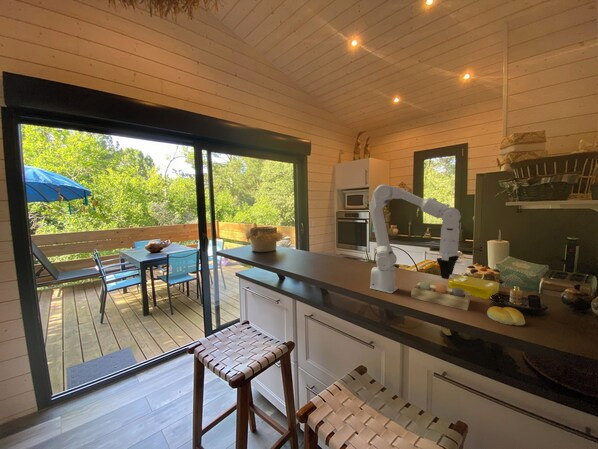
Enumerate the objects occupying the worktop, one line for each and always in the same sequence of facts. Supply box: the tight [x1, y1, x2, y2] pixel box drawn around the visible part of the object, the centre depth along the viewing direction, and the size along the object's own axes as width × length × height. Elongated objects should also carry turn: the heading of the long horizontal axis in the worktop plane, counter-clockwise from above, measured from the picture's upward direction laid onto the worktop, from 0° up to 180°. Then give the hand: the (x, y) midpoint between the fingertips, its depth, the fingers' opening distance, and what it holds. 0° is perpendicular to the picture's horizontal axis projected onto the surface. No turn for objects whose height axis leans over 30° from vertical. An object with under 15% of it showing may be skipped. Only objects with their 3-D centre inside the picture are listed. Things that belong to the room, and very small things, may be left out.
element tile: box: [447, 274, 500, 300], centre depth 103 cm, size 15×15×5 cm
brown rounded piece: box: [435, 284, 447, 294], centre depth 93 cm, size 4×4×4 cm
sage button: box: [419, 281, 431, 291], centre depth 96 cm, size 4×4×4 cm
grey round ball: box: [452, 288, 464, 297], centre depth 89 cm, size 4×4×4 cm
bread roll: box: [486, 305, 526, 327], centre depth 76 cm, size 8×9×4 cm
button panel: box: [410, 282, 471, 311], centre depth 93 cm, size 18×12×3 cm, turn 51°
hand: (446, 276), depth 91 cm, fingers open, 7 cm apart
